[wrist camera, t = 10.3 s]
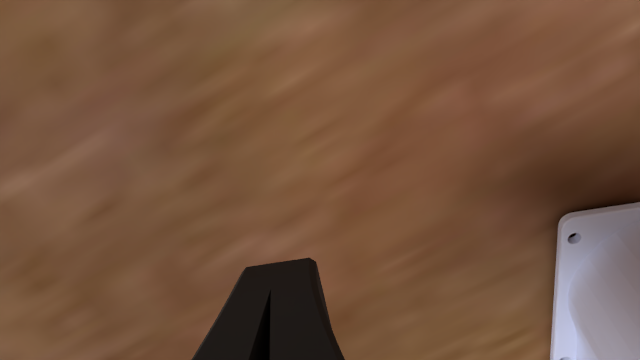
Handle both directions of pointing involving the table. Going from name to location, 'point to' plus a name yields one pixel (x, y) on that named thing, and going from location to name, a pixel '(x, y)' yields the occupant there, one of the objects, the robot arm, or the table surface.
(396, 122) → the table surface
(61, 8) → the table surface
